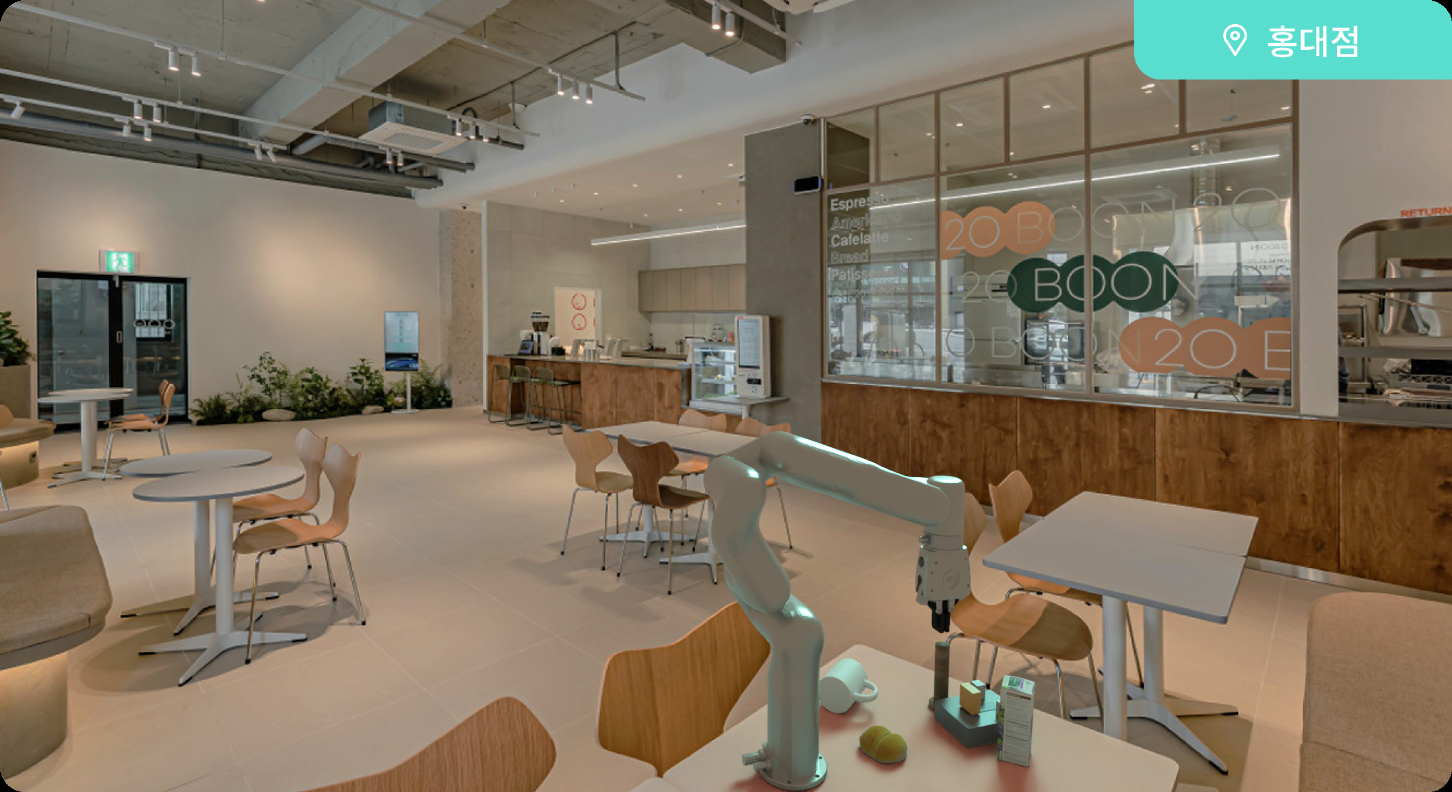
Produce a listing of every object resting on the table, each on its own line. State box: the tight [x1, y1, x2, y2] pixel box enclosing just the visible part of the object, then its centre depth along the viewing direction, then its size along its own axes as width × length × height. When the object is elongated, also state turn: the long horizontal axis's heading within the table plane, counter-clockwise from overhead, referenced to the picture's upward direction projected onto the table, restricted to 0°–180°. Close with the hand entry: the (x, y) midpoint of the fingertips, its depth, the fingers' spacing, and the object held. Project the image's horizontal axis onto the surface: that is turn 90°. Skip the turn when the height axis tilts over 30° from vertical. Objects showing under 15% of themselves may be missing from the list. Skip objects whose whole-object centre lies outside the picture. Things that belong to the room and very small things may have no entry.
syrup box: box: [996, 674, 1036, 768], centre depth 131 cm, size 6×6×14 cm
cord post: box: [928, 641, 951, 712], centre depth 148 cm, size 5×5×14 cm
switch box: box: [933, 679, 1000, 749], centre depth 141 cm, size 14×11×7 cm
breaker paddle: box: [959, 682, 981, 715], centre depth 140 cm, size 2×4×4 cm, turn 18°
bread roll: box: [858, 725, 908, 765], centre depth 133 cm, size 8×9×4 cm
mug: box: [819, 658, 879, 714], centre depth 150 cm, size 12×10×8 cm
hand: (940, 629), depth 136 cm, fingers closed
